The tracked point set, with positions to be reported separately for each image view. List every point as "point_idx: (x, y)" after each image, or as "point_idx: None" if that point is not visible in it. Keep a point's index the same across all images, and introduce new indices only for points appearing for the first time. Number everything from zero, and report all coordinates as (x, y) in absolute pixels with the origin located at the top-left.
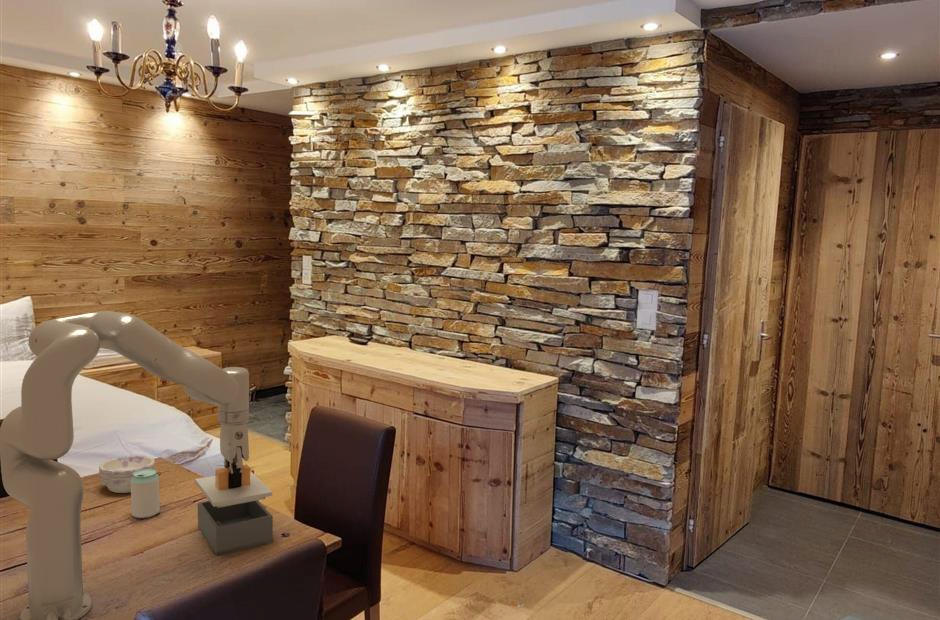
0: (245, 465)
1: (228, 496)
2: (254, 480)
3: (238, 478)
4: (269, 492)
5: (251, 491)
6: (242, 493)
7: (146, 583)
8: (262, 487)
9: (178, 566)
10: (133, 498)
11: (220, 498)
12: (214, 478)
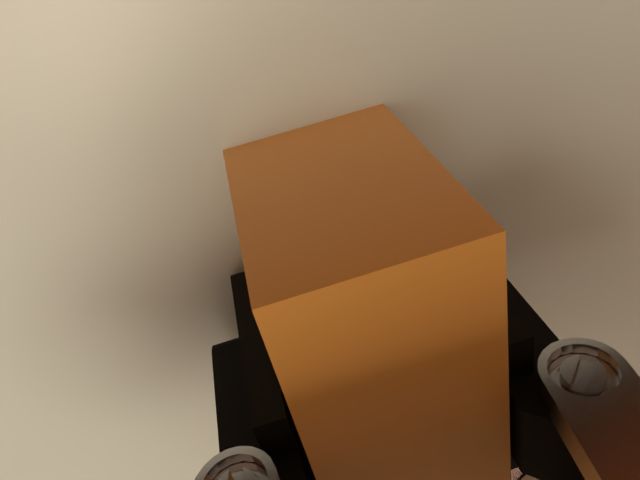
0: (324, 326)
1: (623, 301)
2: (227, 33)
3: (528, 311)
4: None
5: (624, 91)
6: (625, 188)
7: None
8: None
9: None
10: None
11: (624, 350)
12: (78, 468)
